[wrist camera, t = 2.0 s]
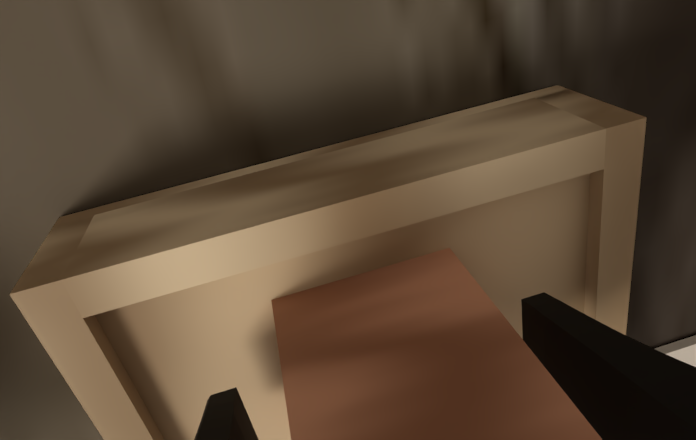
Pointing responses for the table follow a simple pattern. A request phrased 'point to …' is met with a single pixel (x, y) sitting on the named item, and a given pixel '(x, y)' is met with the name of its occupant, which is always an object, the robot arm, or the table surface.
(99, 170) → the table surface
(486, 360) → the terracotta block
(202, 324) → the organiser box
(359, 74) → the table surface
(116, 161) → the table surface
